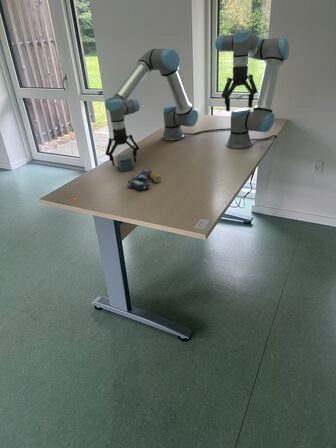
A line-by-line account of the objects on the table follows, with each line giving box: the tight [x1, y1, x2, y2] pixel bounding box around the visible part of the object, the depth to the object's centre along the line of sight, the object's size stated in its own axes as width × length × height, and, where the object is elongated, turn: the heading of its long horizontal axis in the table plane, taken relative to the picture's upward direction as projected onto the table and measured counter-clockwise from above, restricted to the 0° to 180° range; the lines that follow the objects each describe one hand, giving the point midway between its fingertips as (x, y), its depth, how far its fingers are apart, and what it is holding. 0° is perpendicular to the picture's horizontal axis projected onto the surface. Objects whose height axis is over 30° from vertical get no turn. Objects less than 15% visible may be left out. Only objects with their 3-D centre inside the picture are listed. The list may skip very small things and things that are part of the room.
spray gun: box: [126, 169, 162, 191], centre depth 181 cm, size 21×4×15 cm
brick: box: [116, 153, 133, 173], centre depth 202 cm, size 7×9×7 cm
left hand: (124, 163), depth 202 cm, fingers open, 13 cm apart
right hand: (239, 109), depth 180 cm, fingers open, 13 cm apart
